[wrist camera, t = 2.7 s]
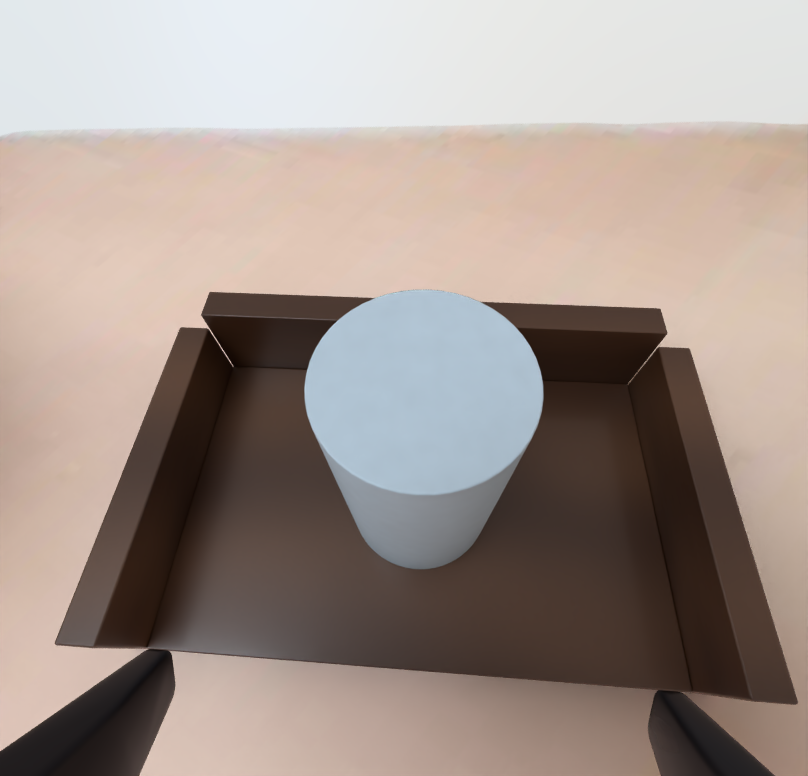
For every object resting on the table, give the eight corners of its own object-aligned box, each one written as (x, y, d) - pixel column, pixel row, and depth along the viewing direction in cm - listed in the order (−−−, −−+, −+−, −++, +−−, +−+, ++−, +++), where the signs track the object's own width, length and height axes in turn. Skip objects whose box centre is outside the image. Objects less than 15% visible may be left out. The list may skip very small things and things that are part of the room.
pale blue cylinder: (488, 574, 20) (556, 503, 10) (344, 564, 20) (281, 486, 11) (484, 406, 24) (529, 246, 15) (365, 400, 24) (333, 241, 15)
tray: (711, 692, 19) (825, 708, 14) (130, 646, 20) (31, 644, 15) (639, 376, 27) (693, 309, 21) (223, 357, 28) (180, 290, 23)
